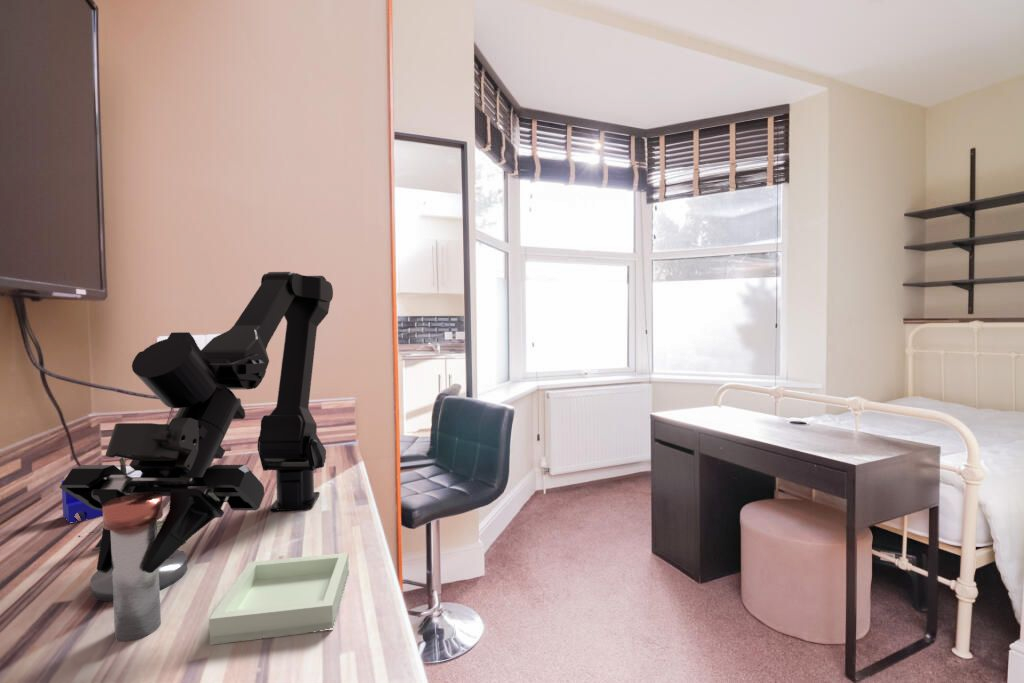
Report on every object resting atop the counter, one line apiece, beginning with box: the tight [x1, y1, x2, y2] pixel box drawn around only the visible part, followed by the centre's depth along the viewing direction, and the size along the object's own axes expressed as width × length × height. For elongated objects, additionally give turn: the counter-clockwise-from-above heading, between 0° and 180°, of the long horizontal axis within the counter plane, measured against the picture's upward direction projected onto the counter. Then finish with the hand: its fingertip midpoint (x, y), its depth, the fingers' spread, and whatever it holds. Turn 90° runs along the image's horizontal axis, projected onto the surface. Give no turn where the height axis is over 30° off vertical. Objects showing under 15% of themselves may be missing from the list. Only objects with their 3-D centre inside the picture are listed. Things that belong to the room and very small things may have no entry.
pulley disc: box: [90, 549, 188, 602], centre depth 57 cm, size 9×9×2 cm
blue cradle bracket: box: [61, 473, 142, 523], centre depth 79 cm, size 12×4×6 cm, turn 141°
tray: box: [208, 552, 350, 646], centre depth 52 cm, size 11×11×2 cm
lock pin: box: [102, 492, 164, 642], centre depth 48 cm, size 5×5×13 cm
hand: (124, 571), depth 46 cm, fingers open, 4 cm apart
